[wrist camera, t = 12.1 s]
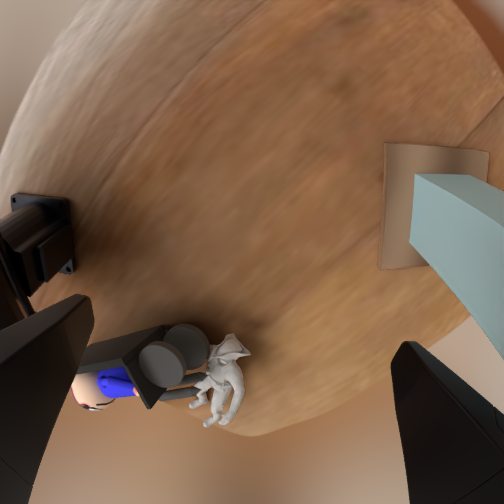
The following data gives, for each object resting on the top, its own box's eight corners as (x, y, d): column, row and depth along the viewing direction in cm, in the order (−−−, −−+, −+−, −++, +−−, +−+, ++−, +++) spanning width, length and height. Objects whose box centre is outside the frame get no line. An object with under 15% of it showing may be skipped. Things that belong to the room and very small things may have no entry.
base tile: (374, 260, 22) (380, 269, 21) (379, 140, 18) (388, 143, 17) (464, 252, 22) (473, 260, 20) (477, 148, 18) (489, 152, 16)
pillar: (409, 242, 20) (523, 391, 7) (414, 173, 17) (578, 287, 5) (461, 237, 19) (577, 358, 7) (469, 175, 17) (618, 269, 5)
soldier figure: (172, 384, 30) (158, 330, 21) (208, 362, 32) (212, 301, 24) (215, 441, 26) (221, 415, 17) (253, 415, 28) (277, 375, 20)
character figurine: (225, 349, 26) (103, 371, 29) (184, 288, 22) (61, 325, 25) (218, 426, 19) (82, 429, 22) (161, 370, 16) (28, 385, 19)
